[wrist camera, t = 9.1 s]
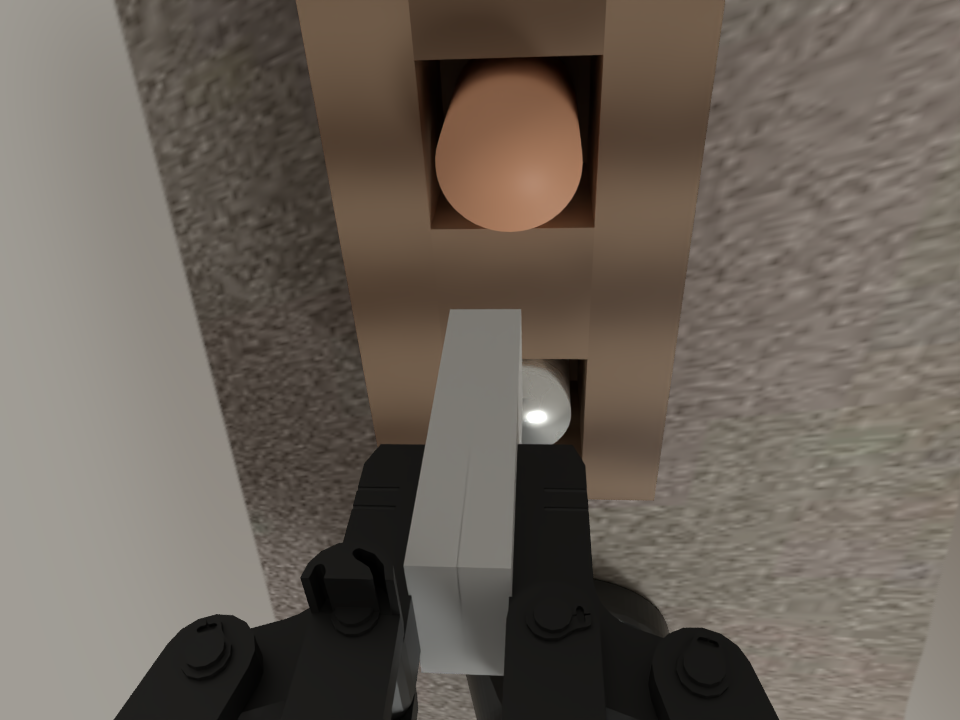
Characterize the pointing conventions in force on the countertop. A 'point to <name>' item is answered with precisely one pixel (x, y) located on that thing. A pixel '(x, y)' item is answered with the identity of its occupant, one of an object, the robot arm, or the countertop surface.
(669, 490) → the countertop surface
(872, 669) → the countertop surface
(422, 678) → the countertop surface
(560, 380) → the grey rounded piece
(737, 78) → the countertop surface
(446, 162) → the tan rounded piece
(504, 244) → the brown wooden block
